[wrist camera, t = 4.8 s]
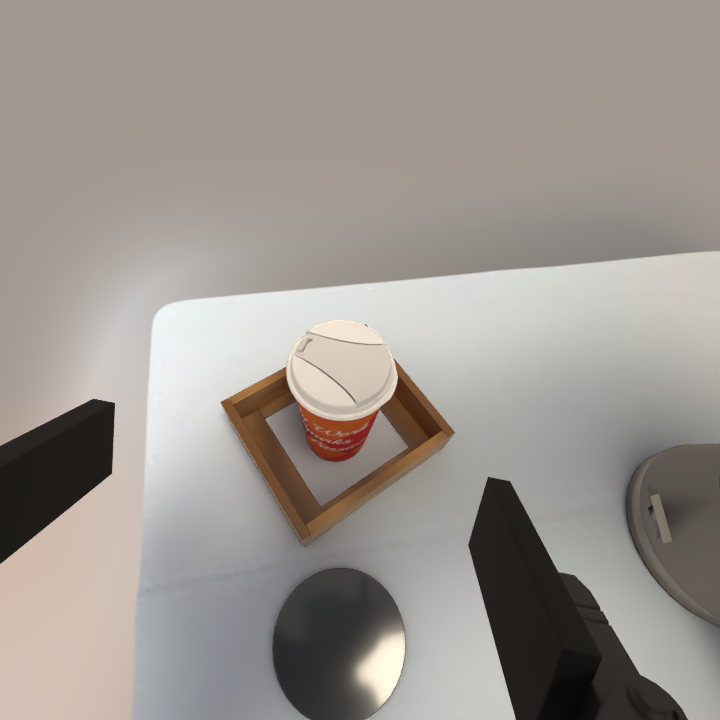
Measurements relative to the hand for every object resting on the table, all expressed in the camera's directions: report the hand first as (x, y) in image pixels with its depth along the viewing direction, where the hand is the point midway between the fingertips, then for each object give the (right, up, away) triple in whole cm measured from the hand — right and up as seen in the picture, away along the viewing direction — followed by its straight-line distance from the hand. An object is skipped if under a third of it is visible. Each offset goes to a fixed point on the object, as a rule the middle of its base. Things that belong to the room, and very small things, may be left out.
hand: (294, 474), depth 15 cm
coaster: (+1, -18, +18) cm, 25 cm away
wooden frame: (0, -3, +26) cm, 27 cm away
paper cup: (0, -3, +27) cm, 27 cm away
